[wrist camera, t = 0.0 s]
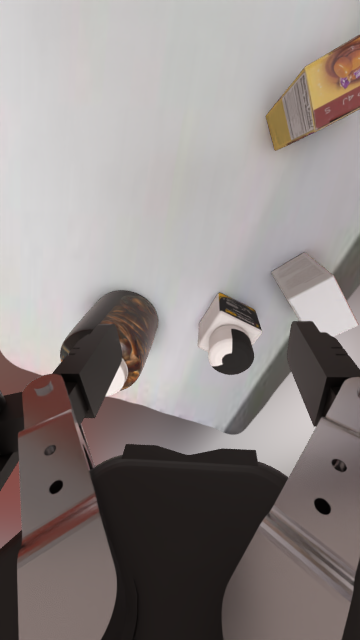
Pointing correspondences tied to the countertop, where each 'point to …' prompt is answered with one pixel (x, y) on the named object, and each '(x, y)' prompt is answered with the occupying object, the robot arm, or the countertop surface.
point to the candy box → (318, 96)
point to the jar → (120, 332)
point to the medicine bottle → (229, 335)
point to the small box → (315, 295)
